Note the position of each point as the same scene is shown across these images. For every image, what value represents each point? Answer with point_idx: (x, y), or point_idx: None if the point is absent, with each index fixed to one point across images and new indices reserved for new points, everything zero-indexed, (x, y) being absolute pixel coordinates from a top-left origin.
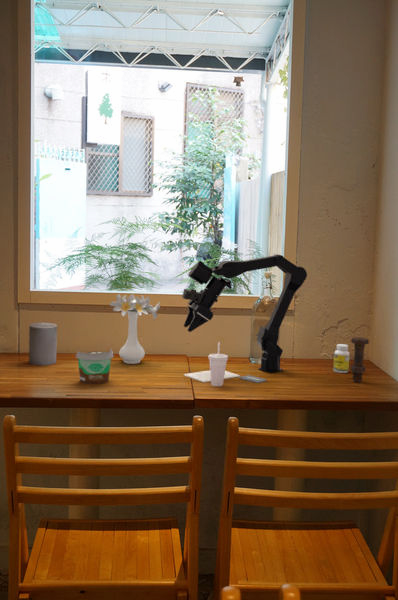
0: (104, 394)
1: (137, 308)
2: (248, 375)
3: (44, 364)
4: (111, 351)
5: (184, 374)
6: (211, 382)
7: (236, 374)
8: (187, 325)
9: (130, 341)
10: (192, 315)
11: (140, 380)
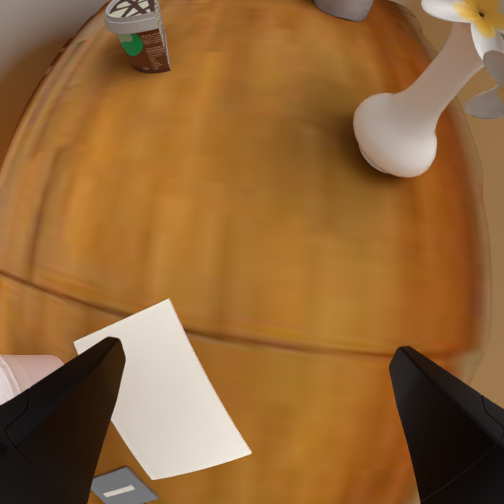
0: (56, 85)
1: (487, 17)
2: (153, 497)
3: (315, 3)
4: (126, 18)
5: (164, 300)
6: (47, 355)
7: (163, 476)
8: (397, 385)
9: (399, 94)
10: (459, 470)
11: (129, 140)
